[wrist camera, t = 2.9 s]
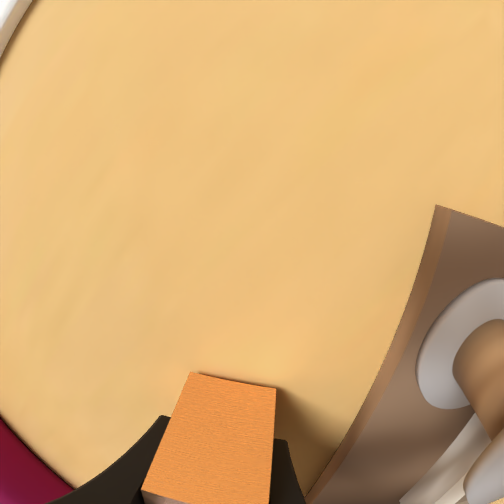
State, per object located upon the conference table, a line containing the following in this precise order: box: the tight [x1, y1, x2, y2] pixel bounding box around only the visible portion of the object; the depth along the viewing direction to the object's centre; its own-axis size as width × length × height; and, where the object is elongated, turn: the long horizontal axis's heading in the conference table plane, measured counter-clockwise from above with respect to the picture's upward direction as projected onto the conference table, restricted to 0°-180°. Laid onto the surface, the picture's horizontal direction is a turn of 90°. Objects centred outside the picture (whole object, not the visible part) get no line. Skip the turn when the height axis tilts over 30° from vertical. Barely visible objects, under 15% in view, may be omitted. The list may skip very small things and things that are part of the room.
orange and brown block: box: [141, 372, 276, 504], centre depth 8 cm, size 4×3×5 cm
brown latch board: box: [304, 205, 504, 504], centre depth 8 cm, size 20×14×6 cm
